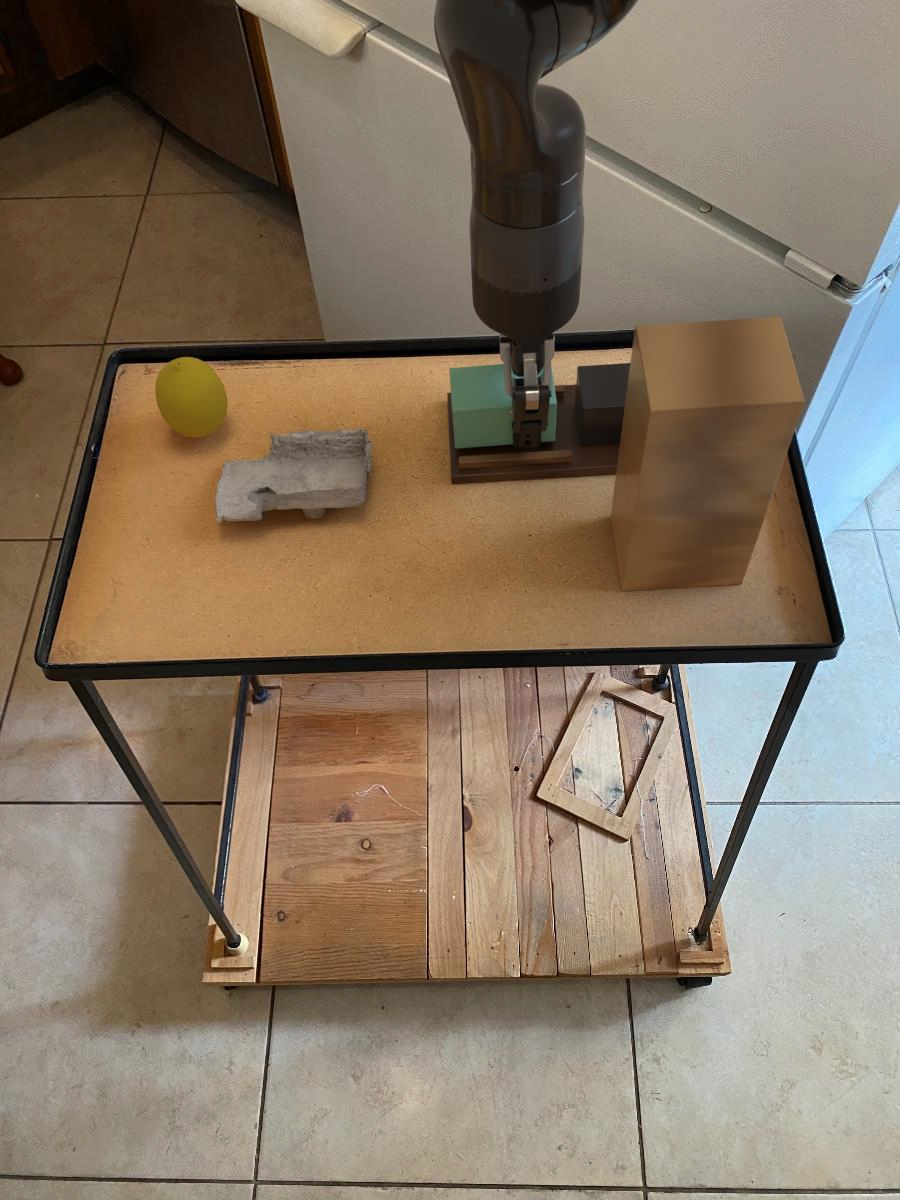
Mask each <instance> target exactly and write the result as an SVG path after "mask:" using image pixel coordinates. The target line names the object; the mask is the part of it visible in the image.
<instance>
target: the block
mask: <svg viewBox="0 0 900 1200" xmlns="http://www.w3.org/2000/svg"><path fill="white" fill-rule="evenodd" d="M542 373H543V368H542V370H541V372H540V373H539V374H538V375H537V377H539V376H541V375H542ZM511 376H512V377H513V378H516V379H519V378H524V377H518V376H516V375H515V374H513V371H512V364H511ZM449 384H450V393H451V401H452V415H453V427H454V440H455V448H469V447H482V446H496V445H509V444H513V428H512V427H511V422H513V421H512V416H510V409H511V397H510V396H508V395H507V394H506V393H505V387H504V364H503V363H500V364H487V365H474V366H461V367H450V368H449ZM554 385H555V380H554V373H553V366H552V364H551V395H552V396H551V397H550V403H549V412H548V426H547V429H546V431H541V442H549V441H555V430H556V408H557V402H556V394H555V387H554Z"/></svg>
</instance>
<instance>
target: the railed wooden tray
mask: <svg viewBox="0 0 900 1200" xmlns="http://www.w3.org/2000/svg"><path fill="white" fill-rule="evenodd" d="M630 363H631V362H622V363H607V364H605V363H604V364H593V365H591V364H590V365H578V366H576V367H577V368H576V381H575V384H557V385H555V384H554V387H555V394H556V402H557V408H556V430H555V441H549V442H541V445H540V446H538V447H535V448H515V447H514V446H513V444H509V445H496V446H482V447H469V448H455V440H454V427H453V415H452V401H451V392H447V393H446V396H447V399H446V401H447V419H448V420H447V423H448V441H449V442H448V443H449V463H450V465H449V466H450V480H451V484H452V485H459V484H460V485H461V484H476V483H491V482H507V481H523V480H524V481H525V480H539V479H555V478H557V479H558V478H572V477H587V476H602V475H603V476H605V475H616V470H617V463H618V455H619V447H620V440H621V432H622V424H623V417H624V409H625V401H626V394H627V386H628V378H629V371H630Z"/></svg>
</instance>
